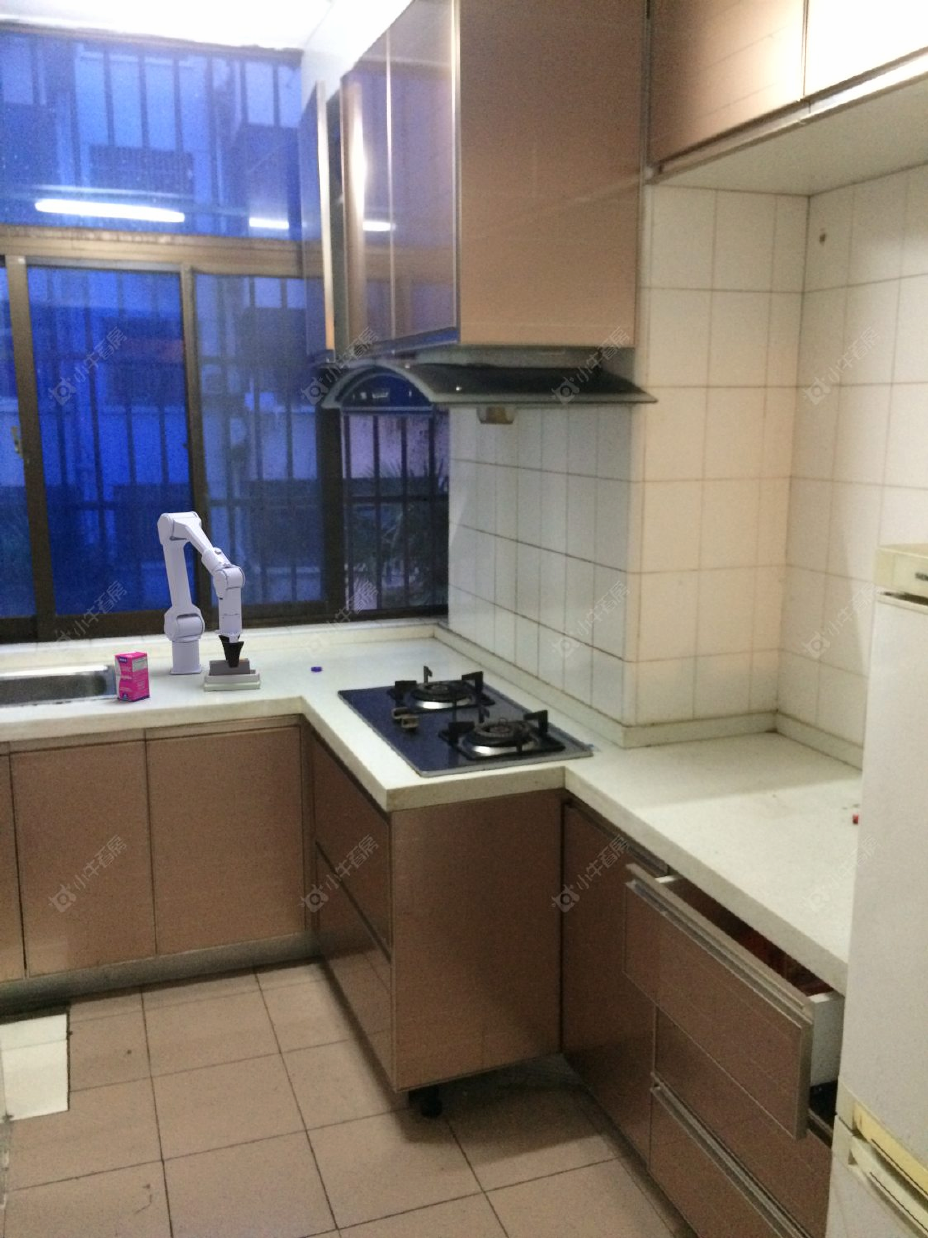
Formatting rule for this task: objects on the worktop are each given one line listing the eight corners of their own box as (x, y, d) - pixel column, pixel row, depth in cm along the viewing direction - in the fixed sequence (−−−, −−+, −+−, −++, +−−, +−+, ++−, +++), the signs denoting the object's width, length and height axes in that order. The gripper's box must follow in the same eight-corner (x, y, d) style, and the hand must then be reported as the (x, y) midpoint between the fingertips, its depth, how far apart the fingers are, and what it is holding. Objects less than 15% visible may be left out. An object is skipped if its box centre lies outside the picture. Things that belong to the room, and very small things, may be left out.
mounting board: (206, 678, 278) (206, 667, 277) (259, 676, 280) (259, 665, 280) (204, 691, 264) (203, 679, 264) (259, 688, 267) (259, 677, 266)
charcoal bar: (210, 679, 272) (209, 659, 271) (248, 676, 275) (247, 657, 274) (211, 682, 269) (210, 662, 268) (250, 679, 272) (249, 660, 271)
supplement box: (116, 699, 256) (113, 654, 254) (133, 694, 261) (131, 650, 259) (133, 702, 253) (130, 657, 251) (150, 697, 259) (148, 652, 256)
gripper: (212, 609, 275) (213, 659, 277) (217, 619, 261) (219, 671, 264) (238, 608, 277) (240, 657, 279) (245, 617, 263) (246, 669, 266)
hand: (231, 664), depth 272 cm, fingers open, 7 cm apart
